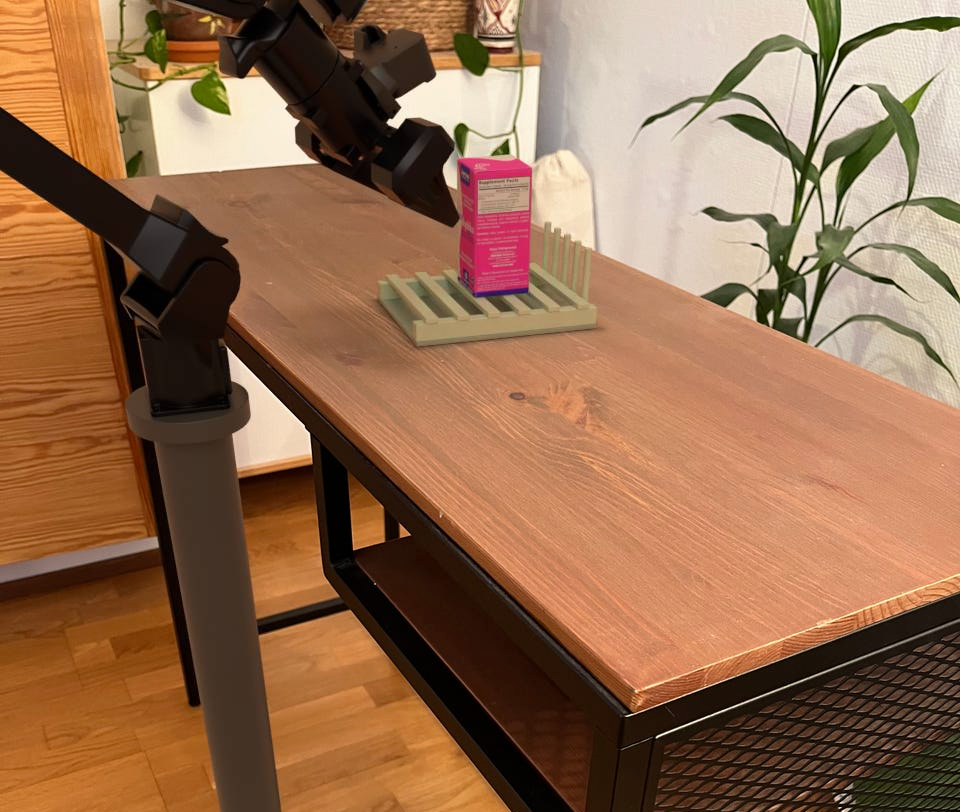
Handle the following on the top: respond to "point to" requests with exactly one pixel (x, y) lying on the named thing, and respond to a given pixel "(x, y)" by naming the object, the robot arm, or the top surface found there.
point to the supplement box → (494, 225)
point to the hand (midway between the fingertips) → (428, 209)
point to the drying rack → (493, 302)
